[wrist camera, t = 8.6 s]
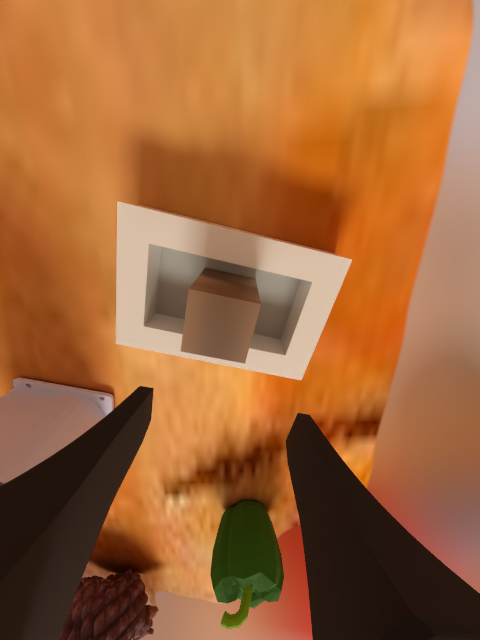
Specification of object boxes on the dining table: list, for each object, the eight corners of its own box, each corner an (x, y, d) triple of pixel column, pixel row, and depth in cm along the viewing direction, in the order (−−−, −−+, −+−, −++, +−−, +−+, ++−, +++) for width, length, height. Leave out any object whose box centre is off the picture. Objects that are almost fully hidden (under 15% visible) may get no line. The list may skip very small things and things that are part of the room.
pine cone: (59, 566, 39) (3, 673, 30) (74, 540, 35) (15, 652, 26) (156, 590, 42) (133, 692, 33) (178, 569, 39) (158, 677, 30)
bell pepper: (286, 500, 31) (305, 620, 21) (263, 530, 34) (270, 646, 25) (227, 485, 29) (220, 606, 20) (208, 518, 33) (195, 635, 23)
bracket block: (198, 313, 19) (180, 351, 14) (205, 267, 18) (188, 288, 12) (244, 323, 20) (245, 363, 14) (255, 278, 18) (261, 304, 12)
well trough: (132, 326, 20) (115, 343, 18) (138, 204, 16) (117, 201, 14) (293, 359, 22) (301, 380, 19) (335, 253, 18) (352, 259, 15)
